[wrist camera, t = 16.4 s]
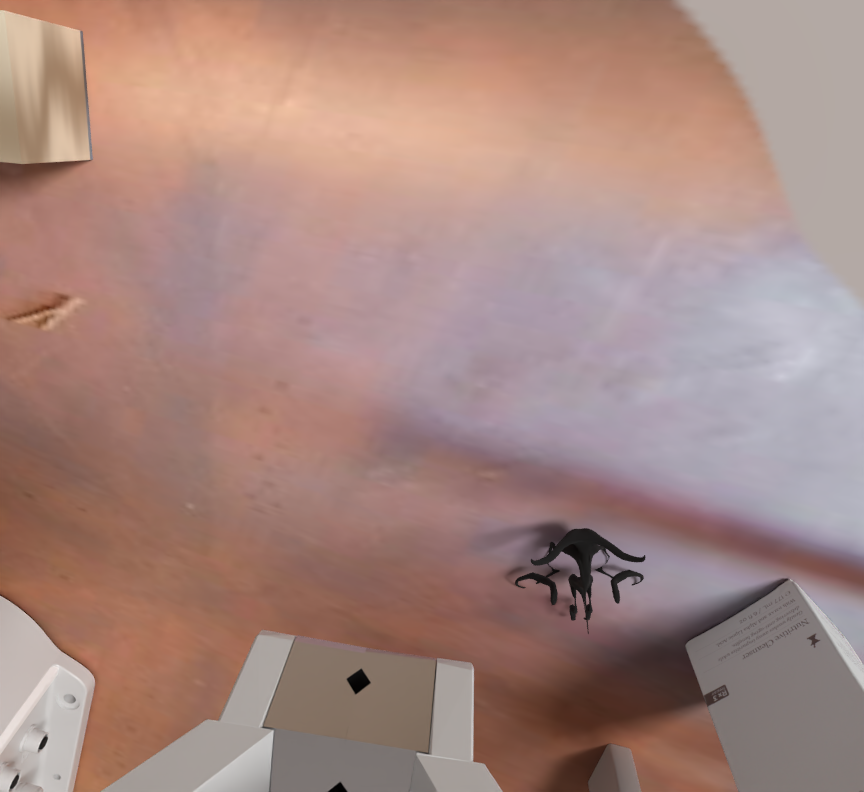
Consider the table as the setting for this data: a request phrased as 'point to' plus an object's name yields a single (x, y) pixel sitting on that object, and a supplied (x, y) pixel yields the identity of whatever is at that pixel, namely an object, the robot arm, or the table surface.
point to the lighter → (615, 771)
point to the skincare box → (784, 696)
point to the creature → (582, 566)
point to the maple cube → (42, 92)
